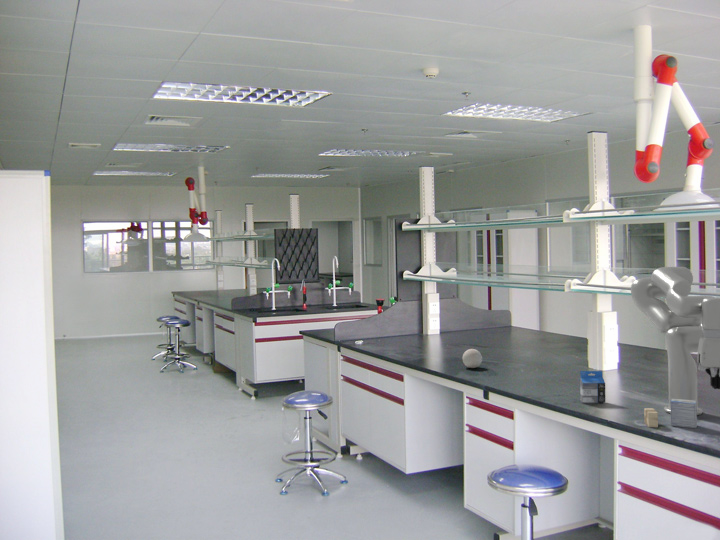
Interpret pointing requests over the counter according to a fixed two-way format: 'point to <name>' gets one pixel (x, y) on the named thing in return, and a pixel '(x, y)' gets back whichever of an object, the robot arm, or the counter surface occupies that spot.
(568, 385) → the counter surface
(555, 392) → the counter surface
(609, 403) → the counter surface
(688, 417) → the medicine box
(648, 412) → the bench stop
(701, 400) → the counter surface
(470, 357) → the grey felt ball
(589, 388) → the blue and grey box
